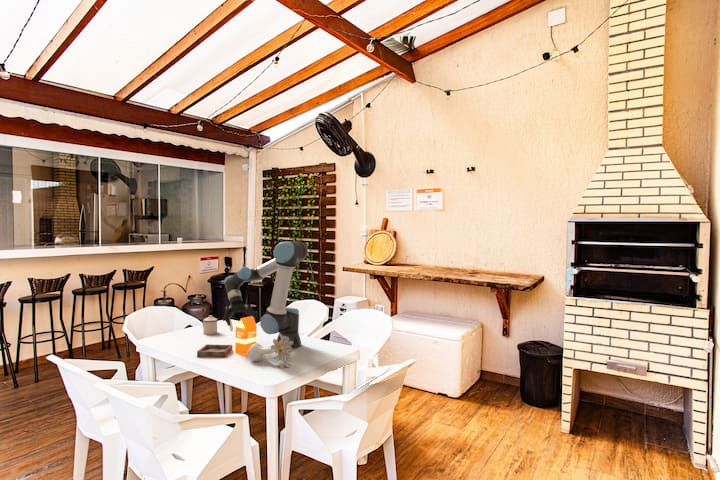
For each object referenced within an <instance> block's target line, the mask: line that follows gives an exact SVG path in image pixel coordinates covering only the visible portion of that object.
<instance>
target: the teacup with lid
mask: <svg viewBox="0 0 720 480" xmlns="http://www.w3.org/2000/svg"><path fill="white" fill-rule="evenodd" d="M202 327H203V331H202V332H203V334H204V335H216V334H217V333H218V318H216V317H214V316H213V315H210V314H209V315H208V317H206V318H204V319H203V320H202Z"/></svg>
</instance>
